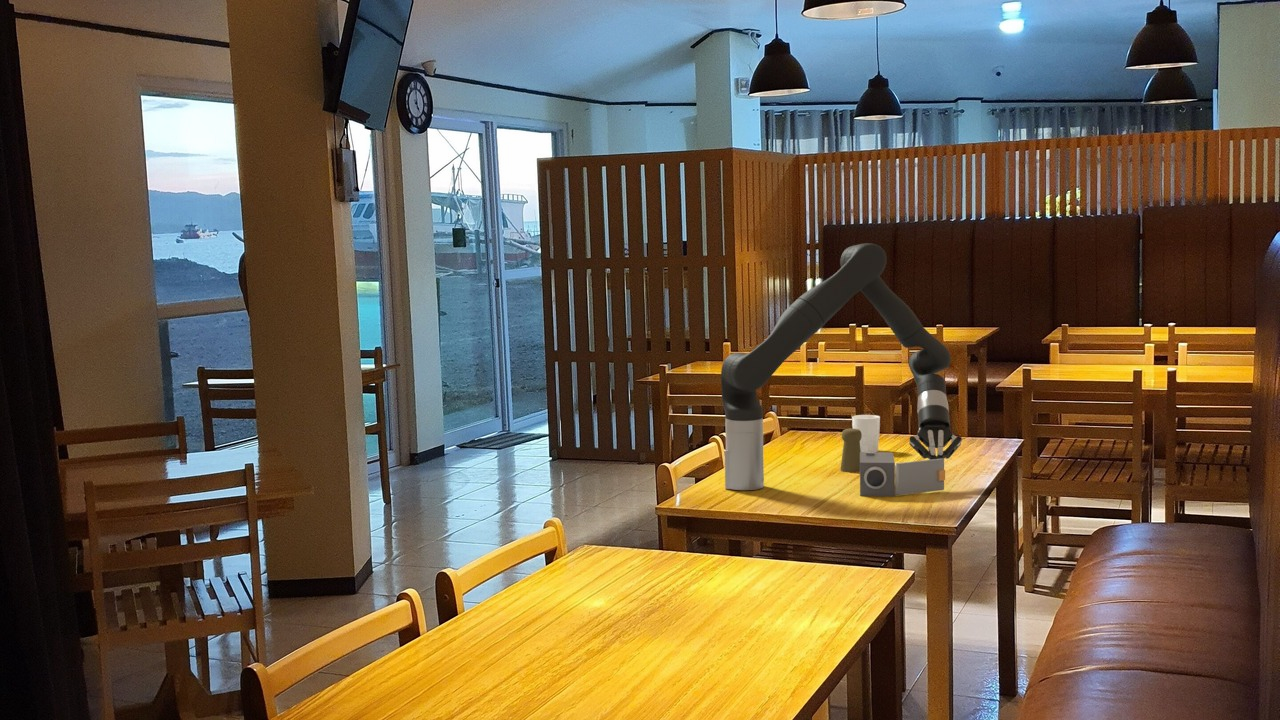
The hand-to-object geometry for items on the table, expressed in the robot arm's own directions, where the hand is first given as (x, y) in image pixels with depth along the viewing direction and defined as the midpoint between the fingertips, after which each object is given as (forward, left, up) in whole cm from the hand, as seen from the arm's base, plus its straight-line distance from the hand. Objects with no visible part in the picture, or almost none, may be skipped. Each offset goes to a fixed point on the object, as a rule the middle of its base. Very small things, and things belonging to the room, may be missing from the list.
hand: (937, 471), depth 284 cm
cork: (-20, +25, -5) cm, 32 cm away
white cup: (-16, +54, -5) cm, 56 cm away
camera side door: (-4, -4, -4) cm, 8 cm away
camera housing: (-14, 0, -5) cm, 15 cm away
